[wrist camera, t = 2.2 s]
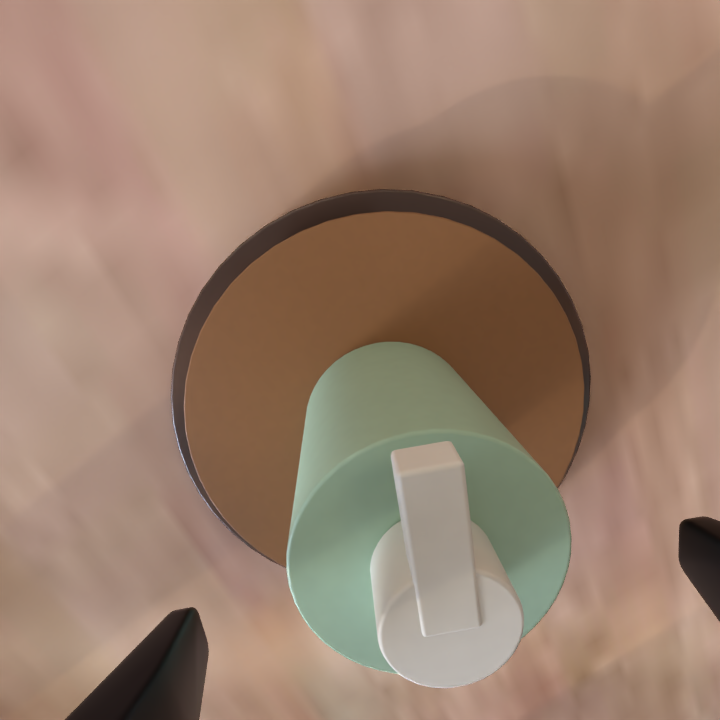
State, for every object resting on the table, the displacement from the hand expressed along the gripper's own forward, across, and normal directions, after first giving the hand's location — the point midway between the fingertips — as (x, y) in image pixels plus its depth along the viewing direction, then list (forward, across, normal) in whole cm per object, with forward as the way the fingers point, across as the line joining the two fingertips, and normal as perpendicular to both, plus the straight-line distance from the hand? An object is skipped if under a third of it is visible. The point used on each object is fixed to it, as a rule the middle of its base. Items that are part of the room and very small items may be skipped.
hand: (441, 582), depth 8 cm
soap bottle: (+8, 0, 0) cm, 8 cm away
